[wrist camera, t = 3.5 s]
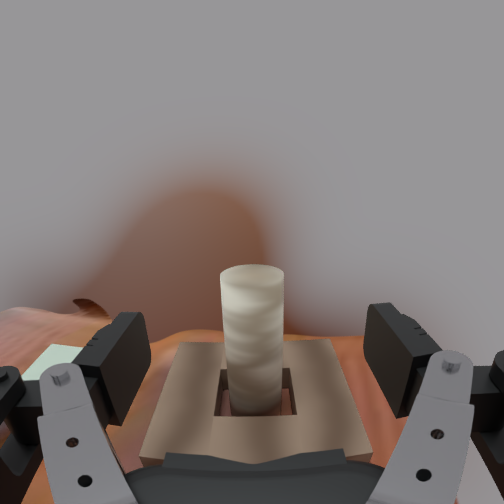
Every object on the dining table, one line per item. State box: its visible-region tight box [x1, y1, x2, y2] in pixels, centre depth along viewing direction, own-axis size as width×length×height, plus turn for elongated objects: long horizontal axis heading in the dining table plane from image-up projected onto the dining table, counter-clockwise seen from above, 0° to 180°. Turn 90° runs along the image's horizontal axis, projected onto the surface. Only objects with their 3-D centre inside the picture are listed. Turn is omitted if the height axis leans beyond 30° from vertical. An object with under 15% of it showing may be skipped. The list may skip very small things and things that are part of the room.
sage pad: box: [21, 344, 83, 380], centre depth 28 cm, size 12×12×1 cm
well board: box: [139, 339, 373, 467], centre depth 25 cm, size 16×16×2 cm
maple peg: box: [220, 264, 284, 417], centre depth 24 cm, size 4×4×13 cm
